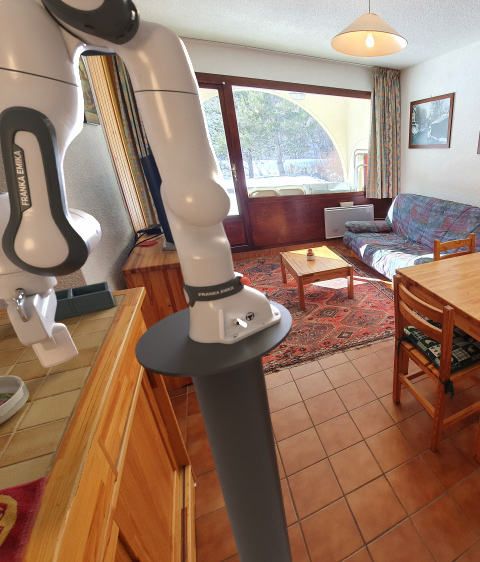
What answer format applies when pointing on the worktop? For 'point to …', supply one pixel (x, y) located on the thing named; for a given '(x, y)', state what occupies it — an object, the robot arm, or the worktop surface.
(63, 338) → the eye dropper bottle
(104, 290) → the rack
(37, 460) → the worktop surface
